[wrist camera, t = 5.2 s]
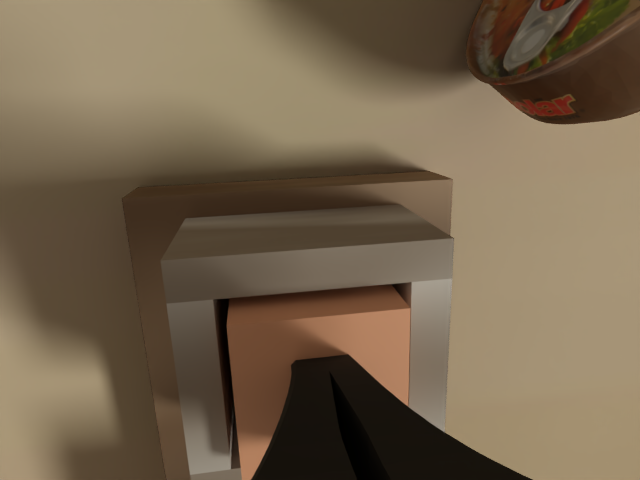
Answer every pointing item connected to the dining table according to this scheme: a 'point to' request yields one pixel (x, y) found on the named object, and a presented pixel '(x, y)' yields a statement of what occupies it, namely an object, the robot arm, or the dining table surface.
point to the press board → (278, 285)
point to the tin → (560, 57)
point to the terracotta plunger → (309, 350)
